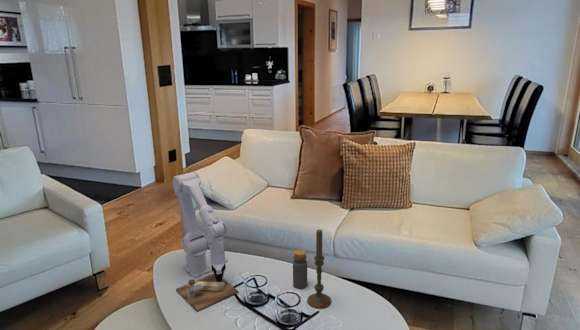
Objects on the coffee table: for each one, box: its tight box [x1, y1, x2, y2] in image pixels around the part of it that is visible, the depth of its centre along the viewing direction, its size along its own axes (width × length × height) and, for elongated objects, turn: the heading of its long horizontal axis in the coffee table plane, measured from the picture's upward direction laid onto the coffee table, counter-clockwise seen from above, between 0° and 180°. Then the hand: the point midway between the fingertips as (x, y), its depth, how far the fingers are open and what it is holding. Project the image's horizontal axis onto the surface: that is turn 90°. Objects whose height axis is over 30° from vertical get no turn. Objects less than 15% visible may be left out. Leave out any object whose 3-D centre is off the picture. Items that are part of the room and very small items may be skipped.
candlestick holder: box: [306, 229, 332, 310], centre depth 144 cm, size 9×9×30 cm
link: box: [187, 278, 225, 291], centre depth 155 cm, size 14×3×3 cm, turn 85°
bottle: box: [292, 248, 308, 290], centre depth 157 cm, size 6×6×15 cm
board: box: [175, 273, 239, 313], centre depth 155 cm, size 18×18×1 cm
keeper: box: [186, 284, 204, 300], centre depth 150 cm, size 3×6×4 cm, turn 125°
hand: (219, 280), depth 159 cm, fingers closed
